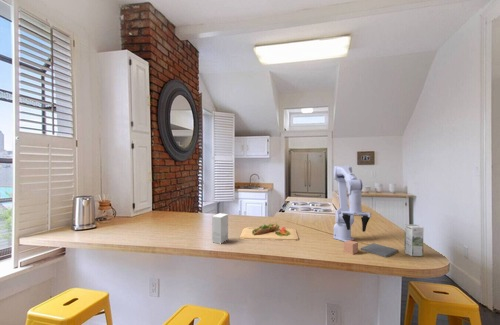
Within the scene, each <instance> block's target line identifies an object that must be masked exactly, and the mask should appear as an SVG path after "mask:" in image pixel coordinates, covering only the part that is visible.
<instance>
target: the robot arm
mask: <svg viewBox="0 0 500 325" xmlns="http://www.w3.org/2000/svg"><path fill="white" fill-rule="evenodd" d="M352 167H353V166H351V165H334V166H333V179H334V180H335V181H336V182H337V187H338V188H337V190H338V201H339V207H338V209H336V210H335V212H334V213H335V215H334V221H335V223H334V225H333V237H332V239H335V240H338V241H341V242H345V241H348V240H350V241H354V240H355V238H353V237H352V226H353V224H354V223H355V217H361V226H362V228H361V229H362V232H366V231H367V230H366V229H367V225H368V223H369V221H370V218H372V212H366V211H365V212H364V211H362V210H363V209H362V191H363V187H364V186H363V181H362V179H358V178H357V176H356V175H355V173H353V168H352ZM348 201H349V202H348ZM354 216H355V217H354Z"/></svg>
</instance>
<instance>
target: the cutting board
mask: <svg viewBox="0 0 500 325" xmlns="http://www.w3.org/2000/svg"><path fill="white" fill-rule="evenodd" d="M240 238H244V239H275V240H274V241H283V240H296V241H299V236H298V233H297V230H296V229H295V228H291V227H290V228H289V227H287V228H286V227H285V226H283V227H280V225H278V223H269V224H267V225H266V224H265V223H263V224H262V225H260V226H259V227H251V226H250V227H249V226H247V227H244V228H243V229H242V231H241V234H240V235H239V239H240ZM244 239H243V240H244Z"/></svg>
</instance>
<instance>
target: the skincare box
mask: <svg viewBox="0 0 500 325" xmlns="http://www.w3.org/2000/svg"><path fill="white" fill-rule="evenodd" d="M211 222H212V223H211V226H212V228H211V229H212V230H211V232H212V233H211V243H212V242H215V243H214V244H217V243H222V244H224V243H225V242H227V241H229V214H228V213H221V212H219V213H216V214H215V215H212V217H211ZM226 240H227V241H226ZM224 241H225V242H224ZM223 242H224V243H223Z"/></svg>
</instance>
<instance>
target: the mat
mask: <svg viewBox="0 0 500 325" xmlns="http://www.w3.org/2000/svg"><path fill="white" fill-rule="evenodd" d="M360 251H363V252H366V253H370V254H374V255H377V256H380V257H384V258H388V257H390V256H392V255H394V254H396V253H398V252H399V249H397V248H393V247H389V246H386V245H381V244H377V243H371V244H368V245H365V246H362V247H360Z"/></svg>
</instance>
